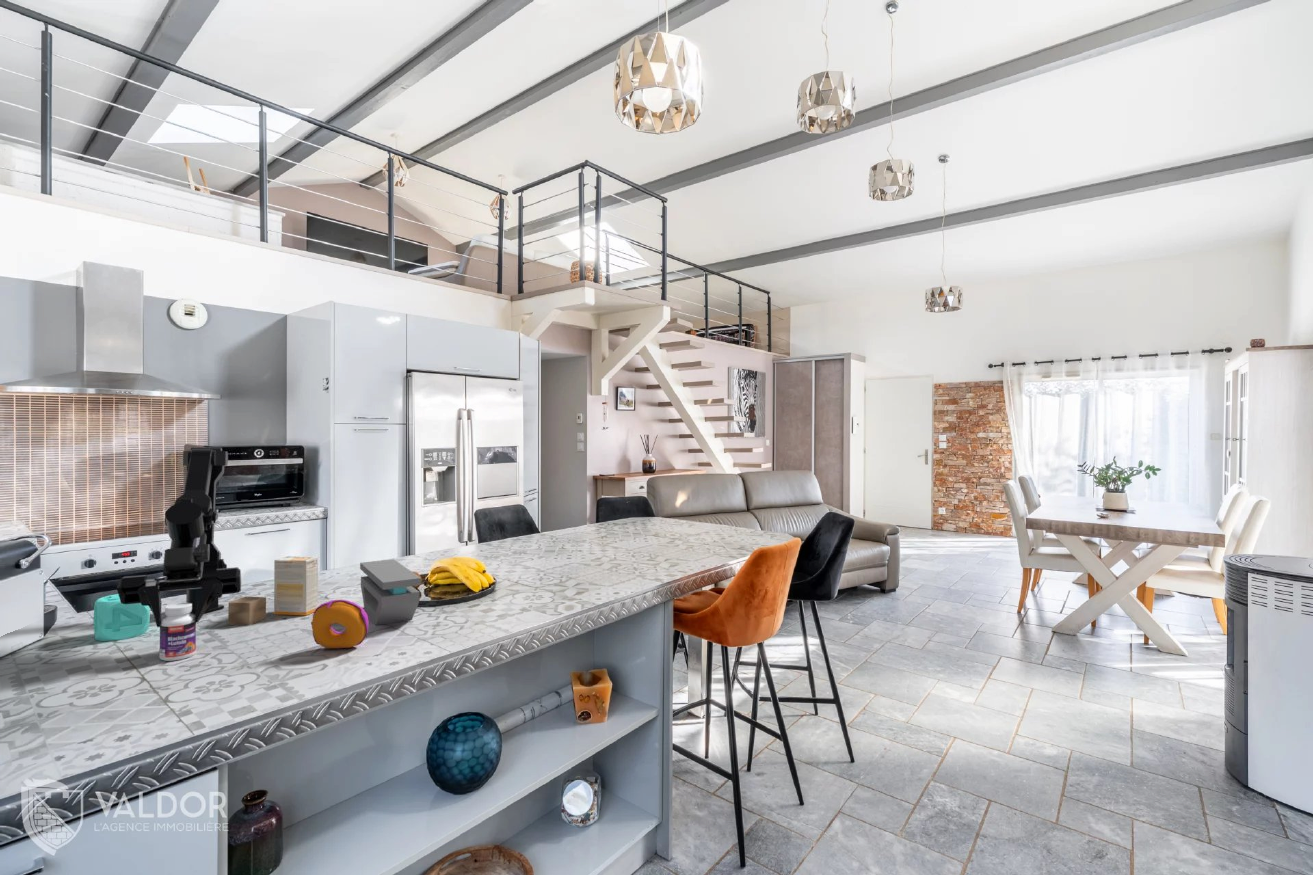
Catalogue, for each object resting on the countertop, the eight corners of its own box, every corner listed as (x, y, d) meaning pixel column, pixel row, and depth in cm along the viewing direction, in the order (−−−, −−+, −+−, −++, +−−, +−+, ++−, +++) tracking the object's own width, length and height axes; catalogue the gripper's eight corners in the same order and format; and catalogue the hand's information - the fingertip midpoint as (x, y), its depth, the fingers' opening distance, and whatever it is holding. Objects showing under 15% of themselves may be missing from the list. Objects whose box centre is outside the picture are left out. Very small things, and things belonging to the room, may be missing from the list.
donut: (340, 640, 123) (341, 591, 123) (373, 646, 120) (374, 596, 120) (305, 652, 116) (305, 601, 116) (339, 659, 113) (340, 606, 113)
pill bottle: (166, 663, 109) (167, 610, 109) (154, 657, 112) (155, 606, 112) (200, 655, 114) (201, 604, 114) (188, 649, 117) (189, 599, 117)
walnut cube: (228, 624, 133) (228, 602, 133) (245, 618, 138) (245, 596, 138) (249, 625, 132) (249, 603, 132) (265, 618, 137) (266, 597, 137)
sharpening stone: (420, 626, 133) (420, 577, 133) (382, 633, 128) (383, 582, 128) (393, 601, 153) (393, 559, 153) (359, 606, 148) (360, 562, 148)
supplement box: (319, 610, 144) (319, 556, 144) (305, 616, 139) (306, 560, 139) (287, 609, 145) (288, 555, 145) (272, 614, 140) (273, 559, 140)
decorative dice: (149, 634, 125) (150, 596, 125) (97, 644, 119) (98, 604, 119) (143, 626, 130) (144, 590, 131) (93, 635, 125) (93, 596, 125)
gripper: (120, 534, 112) (103, 607, 102) (241, 527, 121) (236, 594, 112) (129, 568, 118) (114, 640, 109) (243, 559, 128) (238, 624, 119)
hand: (177, 623), depth 112 cm, fingers closed on pill bottle, 5 cm apart
